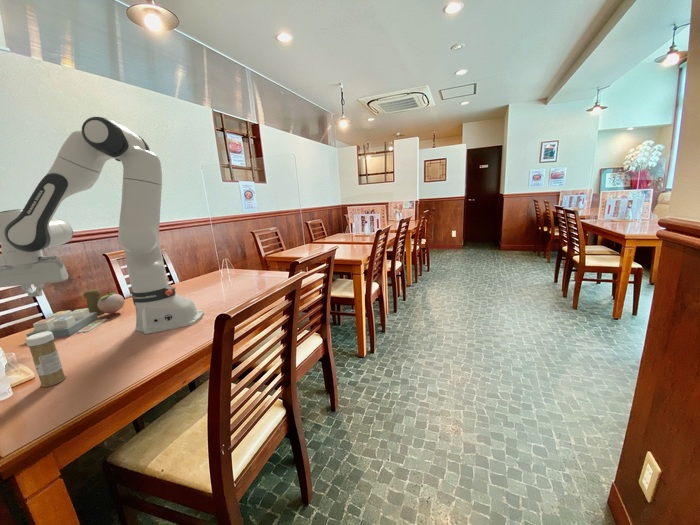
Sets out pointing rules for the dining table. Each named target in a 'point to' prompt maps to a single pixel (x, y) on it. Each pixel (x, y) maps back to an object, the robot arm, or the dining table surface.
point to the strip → (91, 326)
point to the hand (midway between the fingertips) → (35, 296)
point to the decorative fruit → (111, 303)
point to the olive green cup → (93, 301)
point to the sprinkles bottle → (46, 358)
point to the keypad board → (69, 330)
